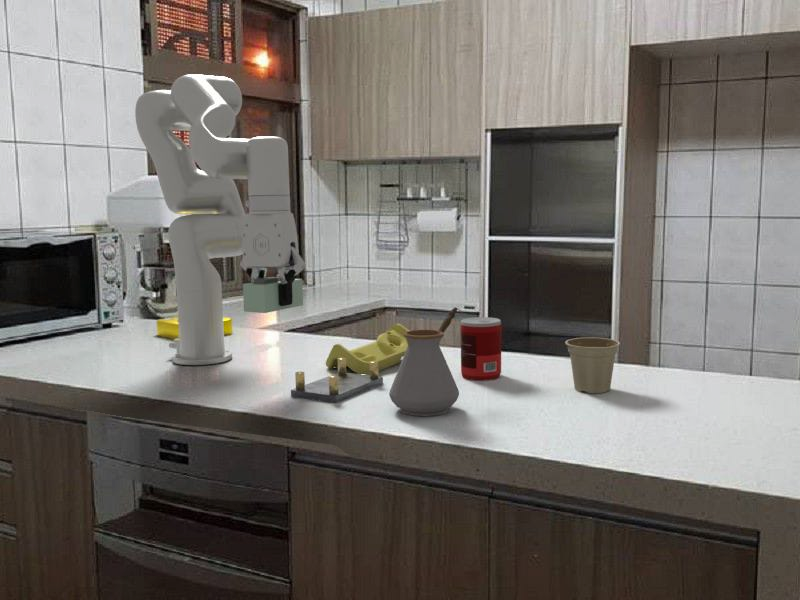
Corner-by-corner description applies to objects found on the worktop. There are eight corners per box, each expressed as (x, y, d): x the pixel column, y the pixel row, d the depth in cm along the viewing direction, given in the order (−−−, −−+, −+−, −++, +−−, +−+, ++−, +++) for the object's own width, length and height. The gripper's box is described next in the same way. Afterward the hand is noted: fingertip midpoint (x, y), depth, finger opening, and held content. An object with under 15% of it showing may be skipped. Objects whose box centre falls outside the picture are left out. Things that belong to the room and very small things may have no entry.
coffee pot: (443, 422, 122) (442, 327, 120) (377, 415, 127) (375, 323, 125) (488, 390, 141) (487, 308, 139) (428, 385, 146) (427, 305, 144)
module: (244, 311, 144) (242, 278, 143) (282, 303, 153) (281, 273, 152) (265, 313, 141) (263, 279, 140) (303, 305, 150) (301, 273, 150)
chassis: (291, 396, 140) (290, 373, 139) (340, 378, 153) (340, 356, 153) (335, 402, 135) (335, 378, 135) (383, 383, 148) (382, 361, 148)
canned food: (506, 373, 155) (506, 318, 153) (493, 382, 148) (493, 324, 146) (469, 370, 158) (469, 316, 156) (455, 379, 151) (454, 322, 149)
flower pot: (589, 399, 135) (589, 349, 134) (554, 387, 143) (554, 340, 142) (630, 391, 139) (631, 343, 138) (594, 381, 147) (595, 335, 146)
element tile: (235, 334, 206) (234, 316, 206) (184, 343, 196) (183, 324, 195) (204, 328, 217) (203, 311, 216) (154, 336, 206) (153, 318, 206)
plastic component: (366, 365, 154) (331, 339, 158) (356, 396, 157) (322, 369, 162) (427, 342, 169) (392, 319, 173) (416, 370, 172) (383, 346, 177)
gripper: (220, 206, 146) (225, 304, 148) (293, 205, 137) (297, 309, 139) (247, 206, 152) (252, 299, 154) (319, 204, 143) (322, 304, 146)
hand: (273, 303), depth 147 cm, fingers closed on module, 5 cm apart
